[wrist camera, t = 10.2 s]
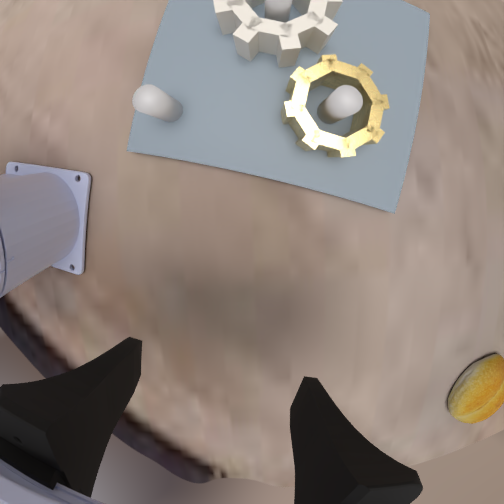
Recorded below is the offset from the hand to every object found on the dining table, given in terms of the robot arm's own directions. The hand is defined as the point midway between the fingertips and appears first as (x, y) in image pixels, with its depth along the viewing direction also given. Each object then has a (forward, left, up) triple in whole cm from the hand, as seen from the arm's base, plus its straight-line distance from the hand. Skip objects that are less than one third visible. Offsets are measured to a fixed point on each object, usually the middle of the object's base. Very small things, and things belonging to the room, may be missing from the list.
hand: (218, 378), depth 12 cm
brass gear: (+3, +13, -9) cm, 16 cm away
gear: (-2, +18, -9) cm, 20 cm away
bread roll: (+28, -6, -10) cm, 31 cm away
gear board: (0, +16, -10) cm, 19 cm away
